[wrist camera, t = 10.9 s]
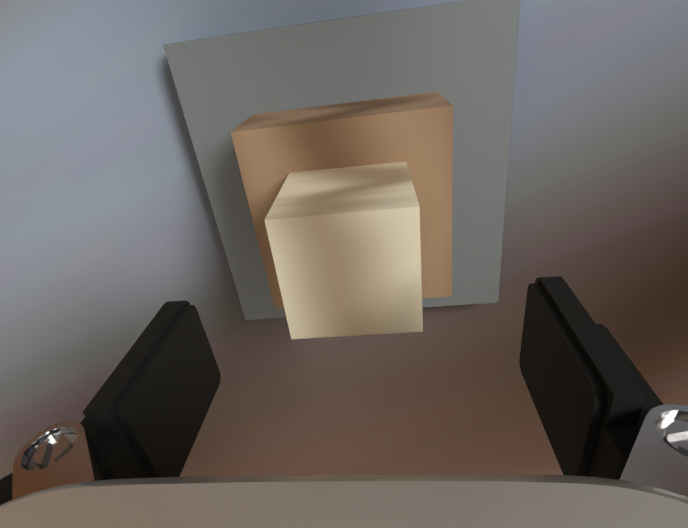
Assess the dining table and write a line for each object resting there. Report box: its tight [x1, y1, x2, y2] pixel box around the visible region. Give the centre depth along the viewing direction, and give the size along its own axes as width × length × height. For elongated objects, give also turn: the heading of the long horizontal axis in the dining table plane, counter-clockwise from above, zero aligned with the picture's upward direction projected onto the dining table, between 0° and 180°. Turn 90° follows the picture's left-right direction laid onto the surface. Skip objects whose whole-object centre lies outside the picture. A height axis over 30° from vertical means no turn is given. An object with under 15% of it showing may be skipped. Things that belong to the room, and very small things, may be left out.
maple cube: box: [264, 161, 423, 339], centre depth 17 cm, size 5×5×5 cm
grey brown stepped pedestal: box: [163, 0, 520, 320], centre depth 21 cm, size 16×16×6 cm
